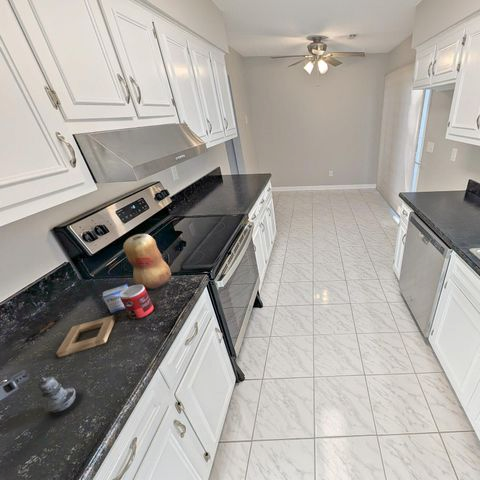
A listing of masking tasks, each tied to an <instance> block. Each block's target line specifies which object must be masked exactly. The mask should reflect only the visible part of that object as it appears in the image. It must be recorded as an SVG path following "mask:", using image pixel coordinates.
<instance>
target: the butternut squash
mask: <svg viewBox="0 0 480 480" xmlns="http://www.w3.org/2000/svg"><path fill="white" fill-rule="evenodd" d="M122 247H123V248H122V249H123V251H124V254H125V256H126V259H127V260H128V262H129V264H130V265H131V266H132V268H133V274H132V275H133V276H132V278H133V281H134V283H135V285H143V286H144V287H145V289H146V290H155V289H158V288H161V287H162V286H163V285H165V284H166V283H167V282H169V281H170V278H171V277H172V273H171V268H170V266H169V265H168V264H167V262H166V261H165V260H164V258H163V256H162V253H161V252H160V250H159V248H158V246H157V241H156V239H154V238H153V237H152V236H151V235H149V234H147V233H137V234H134V235H132V236H130V237H128V238H127V239H125V242H124V243H123V246H122Z"/></svg>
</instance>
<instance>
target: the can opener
mask: <svg viewBox="0 0 480 480" xmlns="http://www.w3.org/2000/svg"><path fill="white" fill-rule="evenodd" d="M55 323H56V322H55V321H51V322H50V323H48V324H47V325H46V326H45V327H43V328H42V329H41V330H40V331H39V332H38V333H37V334H36V335H34V336H33V337H30V338H29V341H32V339H34V338H38V337H39V336H40V335H41V334H42V333H44V332H45V331H46V330H47V329H49V328H50V327H52V326H53V325H54V324H55Z"/></svg>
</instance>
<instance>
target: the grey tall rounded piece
mask: <svg viewBox="0 0 480 480" xmlns="http://www.w3.org/2000/svg"><path fill="white" fill-rule="evenodd" d="M37 388H39V390H40V391H41V392H42V397H43V398H46V399H47V401H46V403H45V405H44V410H45V411H46V412H51V413H59V412H62V411H64V410H67V409H68V408H70V407H71V405H72V404H73V403H74V401H75V399H76V390H75V388H73V387H68V388H64V387H63V384H62V383H61V382H58V381H57V380H56V379H55V377H54V376H48V377H41V378H40V382H39V383H38V385H37Z"/></svg>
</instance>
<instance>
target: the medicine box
mask: <svg viewBox="0 0 480 480" xmlns="http://www.w3.org/2000/svg"><path fill="white" fill-rule="evenodd" d="M128 287H129V286H128V284H127V283H126V284H123V285H120V286H116V287H114V288H111V289H107V290H105V291H103V292H102V300H103V301H104V303H105V305H106V306H107V308H108V310H109V312H110V313H111V314H113V313H116V312H118V311H121V310H125V309H126V308H125V307H124V305H123V303H122V301H121V299H120V297H119V294H120V292H121V291H122V290H124V289H126V288H128Z"/></svg>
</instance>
